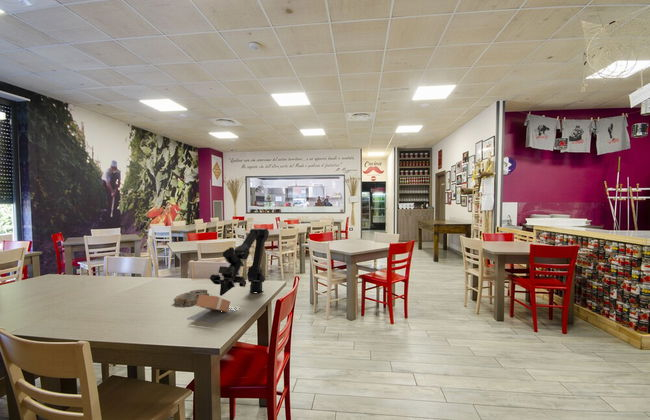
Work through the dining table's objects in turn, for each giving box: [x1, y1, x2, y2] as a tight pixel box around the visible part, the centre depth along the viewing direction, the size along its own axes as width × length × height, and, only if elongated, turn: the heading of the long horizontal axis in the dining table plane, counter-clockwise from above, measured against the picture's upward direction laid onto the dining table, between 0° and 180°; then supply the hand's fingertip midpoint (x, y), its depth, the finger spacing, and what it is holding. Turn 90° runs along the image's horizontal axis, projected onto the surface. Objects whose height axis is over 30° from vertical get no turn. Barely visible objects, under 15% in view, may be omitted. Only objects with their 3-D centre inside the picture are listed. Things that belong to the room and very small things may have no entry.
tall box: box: [195, 295, 231, 312], centre depth 137 cm, size 5×10×12 cm
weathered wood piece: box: [173, 289, 210, 307], centre depth 160 cm, size 14×5×20 cm
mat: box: [186, 305, 242, 324], centre depth 139 cm, size 22×16×1 cm
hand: (220, 295), depth 142 cm, fingers closed
